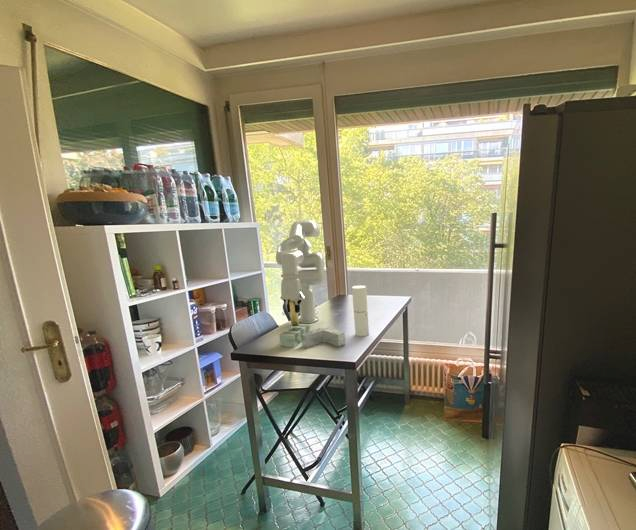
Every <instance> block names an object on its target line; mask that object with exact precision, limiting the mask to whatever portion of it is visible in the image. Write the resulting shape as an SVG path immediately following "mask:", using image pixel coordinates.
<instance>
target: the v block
mask: <svg viewBox="0 0 636 530" xmlns="http://www.w3.org/2000/svg"><path fill="white" fill-rule="evenodd" d="M345 337H346V336H345V332H344V331H341V330H338V329H334V328H330V327H318V328H315V329H313V330H311V331H309V332H306V333H303V334H301V341H302V342H301V346H302V347H303V348H305V347H306V348H305V349H308V348H311V347H313V346H316V345H319V344H321V343H328V344H330V345H332V346H335V347H339V348H340V347H342V346H344V345H346V338H345Z"/></svg>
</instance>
